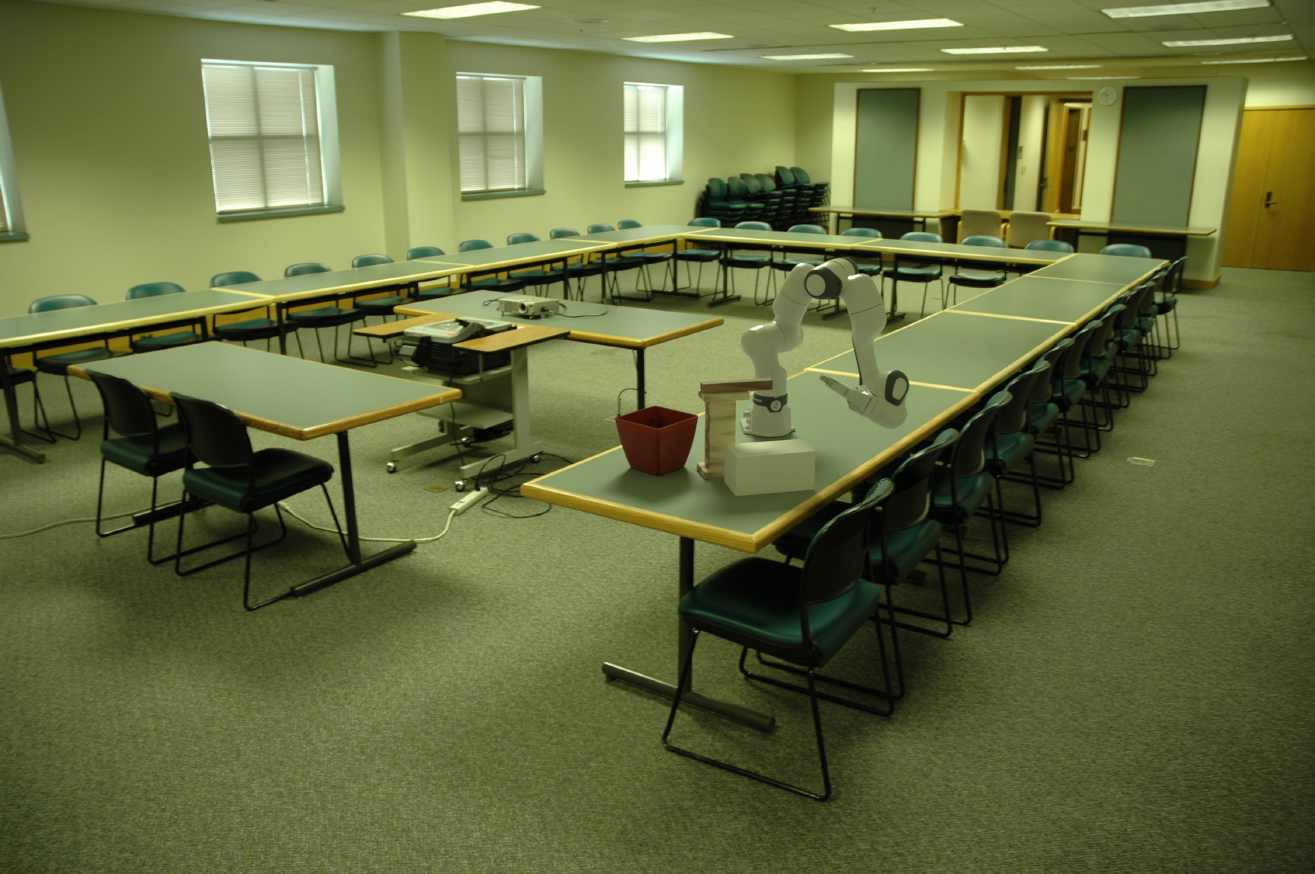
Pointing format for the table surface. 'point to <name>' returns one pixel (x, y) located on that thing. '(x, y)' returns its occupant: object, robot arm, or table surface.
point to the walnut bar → (736, 385)
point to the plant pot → (657, 438)
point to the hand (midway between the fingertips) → (826, 380)
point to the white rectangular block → (769, 467)
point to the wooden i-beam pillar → (718, 430)
